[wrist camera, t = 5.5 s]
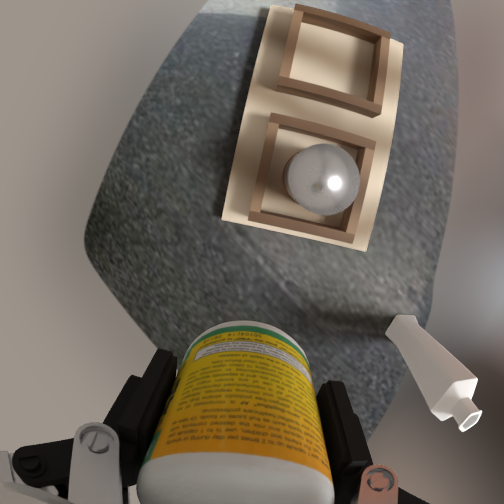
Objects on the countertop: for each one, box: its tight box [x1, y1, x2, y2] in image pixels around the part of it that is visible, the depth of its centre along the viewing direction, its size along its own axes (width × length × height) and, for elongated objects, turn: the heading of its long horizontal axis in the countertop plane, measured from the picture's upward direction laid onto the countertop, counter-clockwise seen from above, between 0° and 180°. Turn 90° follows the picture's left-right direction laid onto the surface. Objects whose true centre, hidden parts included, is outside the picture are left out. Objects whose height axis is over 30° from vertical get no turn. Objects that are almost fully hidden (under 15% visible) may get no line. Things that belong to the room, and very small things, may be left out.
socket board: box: [222, 4, 403, 252], centre depth 21 cm, size 21×13×3 cm, turn 168°
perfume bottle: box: [385, 315, 482, 432], centre depth 21 cm, size 5×4×15 cm
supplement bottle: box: [136, 321, 335, 504], centre depth 7 cm, size 5×5×10 cm
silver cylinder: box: [282, 143, 360, 215], centre depth 20 cm, size 5×5×6 cm
